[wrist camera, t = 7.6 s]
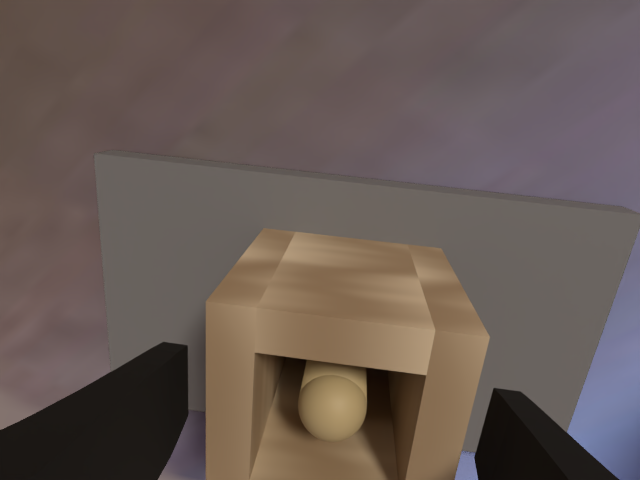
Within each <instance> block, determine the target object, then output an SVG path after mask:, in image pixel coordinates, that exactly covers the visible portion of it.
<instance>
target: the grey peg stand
mask: <svg viewBox="0 0 640 480" xmlns="http://www.w3.org/2000/svg"><path fill="white" fill-rule="evenodd" d="M94 164H95V176H96V189H97V202H98V215H99V227H100V240H101V253H102V266H103V279H104V291H105V304H106V317H107V330H108V342H109V355H110V368H111V372H112V371H113V370H115V369H117V368H118V367H120V366H122V365H124V364H125V363H127V362H129V361H130V360H132V359H134V358H135V357H137V356H139V355H140V354H142V353H144V352H146V351H147V350H149V349H151V348H153V347H154V346H156V345H158V344H160V343H162V342H169V343H176V344H183V345H188V410H194V411H200V412H206V301H207V299H208V298H209V297H210V295H211V294H212V293H213V292H214V290H215V289H216V288H217V287H218V285H219V284H220V283H221V282H222V280H223V279H224V278H225V276H226V275H227V274H228V273H229V271H230V270H231V269H232V268H233V266H234V265H235V264H236V263H237V261H238V260H239V259H240V257H241V256H242V255H243V254H244V252H245V251H246V250H247V249H248V247H249V246H250V245H251V244H252V242H253V241H254V240H255V238H256V237H257V236H258V235H259V233H260V232H261V231H262V230H263V228H267V229H275V230H284V231H293V232H302V233H311V234H320V235H328V236H337V237H346V238H355V239H364V240H373V241H382V242H390V243H399V244H408V245H417V246H426V247H435V248H441V249H442V251H443V252H444V254H445V256H446V258H447V260H448V262H449V263H450V265H451V267H452V269H453V271H454V272H455V274H456V276H457V278H458V280H459V282H460V283H461V285H462V287H463V289H464V291H465V292H466V294H467V296H468V298H469V300H470V302H471V303H472V305H473V307H474V309H475V311H476V313H477V314H478V316H479V318H480V320H481V322H482V323H483V325H484V327H485V329H486V331H487V333H488V334H489V336H490V339H489V343H488V347H487V351H486V355H485V359H484V363H483V367H482V371H481V375H480V379H479V383H478V387H477V391H476V395H475V399H474V403H473V407H472V411H471V415H470V419H469V423H468V427H467V431H466V435H465V439H464V443H463V447H462V451H469V452H476V450H477V446H478V443H479V439H480V435H481V432H482V428H483V424H484V421H485V417H486V413H487V410H488V406H489V402H490V399H491V395H492V392H493V388H499V389H506V390H514V391H521V392H522V393H523V394H524V395H526V396H527V397H528V398H529V399H530V400H532V401H533V402H534V403H535V404H536V405H537V406H538V407H539V408H541V409H542V410H543V411H544V412H545V413H546V414H547V415H548V416H549V417H550V418H551V419H553V420H554V421H555V422H556V423H557V424H558V425H559V426H560V427H561V428H562V429H563V430H564V431H566V432H567V430H568V427H569V424H570V422H571V419H572V416H573V413H574V410H575V408H576V405H577V402H578V399H579V396H580V393H581V391H582V388H583V385H584V382H585V379H586V377H587V374H588V371H589V368H590V365H591V363H592V360H593V357H594V354H595V351H596V349H597V346H598V343H599V340H600V337H601V335H602V332H603V329H604V326H605V323H606V321H607V318H608V315H609V312H610V309H611V307H612V304H613V301H614V298H615V295H616V293H617V290H618V287H619V284H620V281H621V279H622V276H623V273H624V270H625V267H626V265H627V262H628V259H629V256H630V253H631V251H632V248H633V245H634V242H635V239H636V237H637V234H638V231H639V228H640V213H637V212H635V211H632V210H630V209H627V208H625V207H621V206H612V205H603V204H594V203H585V202H576V201H567V200H558V199H549V198H540V197H531V196H522V195H513V194H504V193H495V192H486V191H477V190H468V189H459V188H450V187H441V186H432V185H423V184H414V183H405V182H396V181H387V180H378V179H369V178H360V177H351V176H342V175H333V174H324V173H315V172H306V171H297V170H288V169H279V168H270V167H261V166H252V165H243V164H234V163H225V162H216V161H207V160H198V159H189V158H180V157H171V156H162V155H153V154H144V153H135V152H126V151H117V150H110V151H104V152H99V153H94ZM298 409H299V415H300V418H301V421H302V423H303V425H304V426H305V428H306V429H307V430H308V431H309V432H310V433H311V434H312V435H313V436H315V437H316V438H318V439H320V440H323V441H326V442H339V441H343V440H346V439H348V438H350V437H351V436H352V435H354V434H355V433H356V432H357V431H358V430H359V428H360V427H361V425H362V424H363V422H364V419H365V416H366V411H367V380H366V367H360V366H353V365H345V364H337V363H330V362H322V361H315V360H307V362H306V367H305V371H304V376H303V380H302V385H301V390H300V394H299V400H298Z"/></svg>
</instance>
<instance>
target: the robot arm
mask: <svg viewBox="0 0 640 480" xmlns="http://www.w3.org/2000/svg"><path fill="white" fill-rule="evenodd" d="M187 417H188V345H183V344H176V343H169V342H162V343H160V344H158V345H156V346H154V347H153V348H151V349H149V350H147V351H146V352H144V353H142V354H140V355H139V356H137V357H135V358H134V359H132V360H130V361H129V362H127V363H125V364H124V365H122V366H120V367H118V368H117V369H115V370H113V371H112V372H110V373H108V374H106V375H105V376H103V377H101V378H100V379H98V380H96V381H94V382H93V383H91V384H89V385H87V386H86V387H84V388H82V389H80V390H78V391H76V392H75V393H73V394H71V395H69V396H67V397H65V398H63V399H61V400H60V401H58V402H56V403H54V404H52V405H50V406H48V407H46V408H45V409H43V410H41V411H39V412H37V413H35V414H33V415H31V416H29V417H27V418H25V419H23V420H21V421H19V422H17V423H15V424H13V425H11V426H8V427H6V428H4V429H2V430H0V480H158V478H159V476H160V474H161V473H162V471H163V469H164V467H165V466H166V464H167V462H168V460H169V458H170V457H171V455H172V452H173V450H174V448H175V445H176V443H177V441H178V439H179V436H180V434H181V431H182V429H183V427H184V424H185V422H186V419H187ZM474 458H475V464H476V469H477V475H478V480H619V479H618V478H617V477H616V476H614V475H613V474H612V473H611V472H610V471H609V470H607V469H606V468H605V467H604V466H603V465H602V464H601V463H600V462H598V461H597V460H596V459H595V458H594V457H593V456H592V455H591V454H590V453H588V452H587V451H586V450H585V449H584V448H583V447H582V446H581V445H580V444H579V443H577V442H576V441H575V440H574V439H573V438H572V437H571V436H570V435H569V434H568V433H567V432H566V431H564V430H563V429H562V428H561V427H560V426H559V425H558V424H557V423H556V422H555V421H554V420H553V419H551V418H550V417H549V416H548V415H547V414H546V413H545V412H544V411H543V410H542V409H541V408H539V407H538V406H537V405H536V404H535V403H534V402H533V401H532V400H530V399H529V398H528V397H527V396H526V395H524V394H523V393H522V392H521V391H514V390H506V389H499V388H493V392H492V395H491V399H490V402H489V406H488V410H487V413H486V417H485V421H484V424H483V428H482V432H481V435H480V439H479V443H478V446H477V450H476V453H475V457H474Z"/></svg>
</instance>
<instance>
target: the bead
mask: <svg viewBox="0 0 640 480" xmlns="http://www.w3.org/2000/svg"><path fill="white" fill-rule="evenodd" d="M489 339H490V336H489V334H488V333H487V331H486V329H485V327H484V325H483V323H482V322H481V320H480V318H479V316H478V314H477V313H476V311H475V309H474V307H473V305H472V303H471V302H470V300H469V298H468V296H467V294H466V292H465V291H464V289H463V287H462V285H461V283H460V282H459V280H458V278H457V276H456V274H455V272H454V271H453V269H452V267H451V265H450V263H449V262H448V260H447V258H446V256H445V254H444V252H443V251H442V249H441V248H435V247H426V246H417V245H408V244H399V243H390V242H382V241H373V240H364V239H355V238H346V237H337V236H328V235H320V234H311V233H302V232H293V231H284V230H275V229H267V228H263V230H262V231H261V232H260V233H259V235H258V236H257V237H256V238H255V240H254V241H253V242H252V244H251V245H250V246H249V247H248V249H247V250H246V251H245V252H244V254H243V255H242V256H241V257H240V259H239V260H238V261H237V263H236V264H235V265H234V266H233V268H232V269H231V270H230V271H229V273H228V274H227V275H226V276H225V278H224V279H223V280H222V282H221V283H220V284H219V285H218V287H217V288H216V289H215V290H214V292H213V293H212V294H211V295H210V297H209V298H208V299H207V301H206V480H454V479H455V475H456V471H457V467H458V463H459V459H460V455H461V451H462V447H463V443H464V439H465V435H466V431H467V427H468V423H469V419H470V415H471V411H472V407H473V403H474V399H475V395H476V391H477V387H478V383H479V379H480V375H481V371H482V367H483V363H484V359H485V355H486V351H487V347H488V343H489ZM307 360H315V361H322V362H330V363H337V364H345V365H353V366H360V367H366V380H367V411H366V416H365V419H364V422H363V424H362V425H361V427H360V428H359V430H358V431H357V432H356V433H355V434H354V435H352V436H351V437H350V438H348V439H346V440H343V441H339V442H326V441H323V440H320V439H318V438H316V437H315V436H313V435H312V434H311V433H310V432H309V431H308V430H307V429H306V428H305V426H304V425H303V423H302V421H301V418H300V415H299V409H298V400H299V394H300V390H301V385H302V380H303V376H304V371H305V367H306V362H307Z"/></svg>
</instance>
